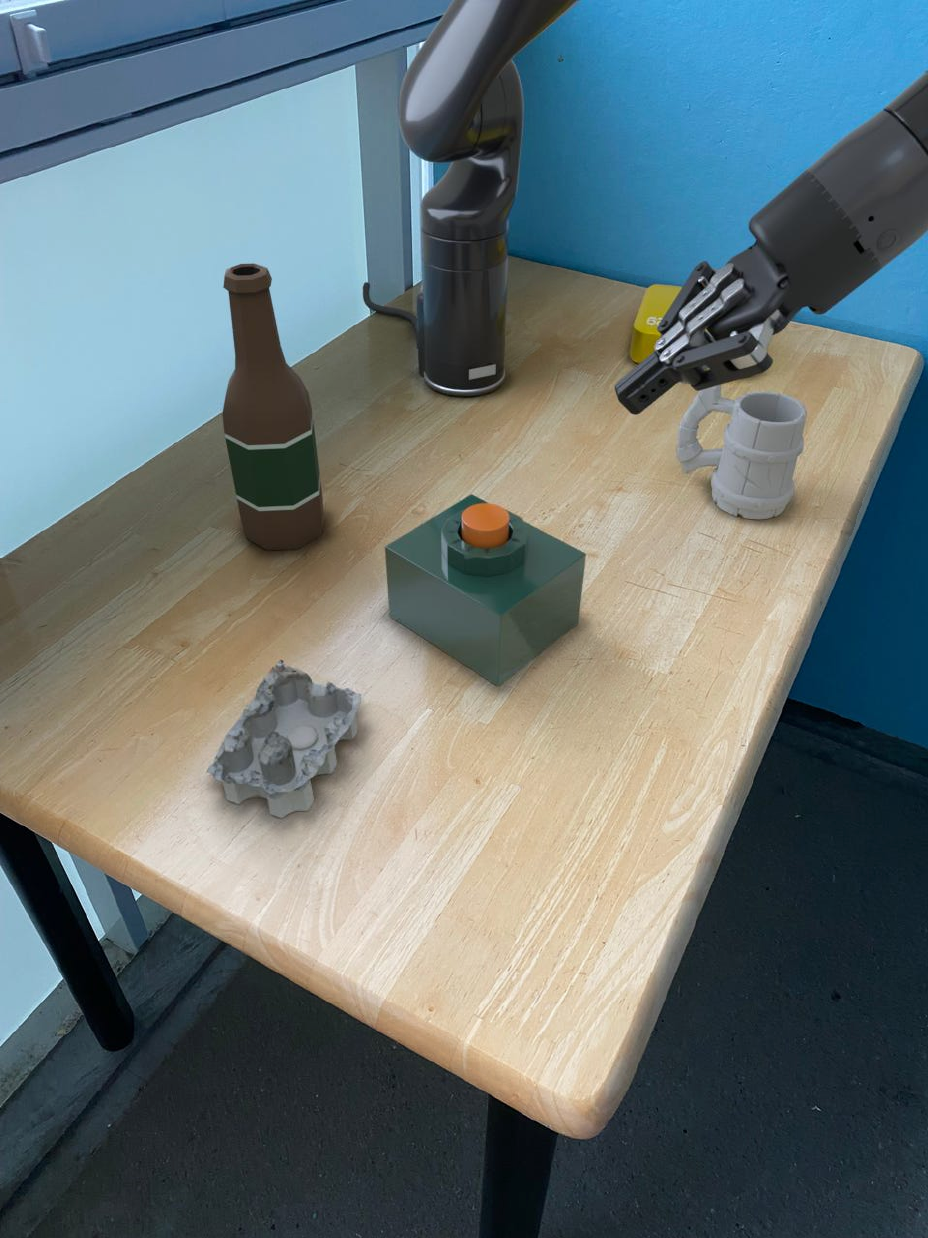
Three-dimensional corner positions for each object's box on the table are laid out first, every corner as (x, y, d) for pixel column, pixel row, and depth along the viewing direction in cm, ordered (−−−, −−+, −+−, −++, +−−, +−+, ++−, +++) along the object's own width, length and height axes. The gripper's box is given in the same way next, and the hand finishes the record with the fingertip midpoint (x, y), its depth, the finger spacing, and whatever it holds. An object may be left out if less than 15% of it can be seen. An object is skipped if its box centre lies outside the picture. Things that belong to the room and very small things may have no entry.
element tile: (761, 327, 119) (769, 290, 116) (755, 380, 108) (764, 341, 105) (643, 314, 122) (648, 277, 119) (626, 364, 111) (631, 325, 108)
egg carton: (287, 692, 71) (281, 652, 68) (375, 722, 68) (371, 682, 65) (202, 794, 63) (191, 754, 60) (297, 832, 61) (289, 793, 58)
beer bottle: (258, 562, 82) (209, 297, 66) (231, 517, 87) (181, 260, 72) (340, 538, 85) (312, 277, 69) (310, 496, 90) (278, 244, 74)
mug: (779, 530, 86) (811, 414, 78) (656, 497, 90) (675, 383, 82) (798, 489, 91) (830, 376, 83) (681, 459, 95) (701, 349, 87)
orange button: (451, 535, 71) (451, 517, 70) (483, 516, 73) (483, 497, 72) (487, 555, 69) (487, 536, 68) (518, 534, 71) (519, 515, 70)
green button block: (389, 616, 77) (383, 527, 71) (470, 561, 82) (471, 475, 76) (498, 687, 71) (501, 596, 65) (578, 623, 76) (588, 534, 70)
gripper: (782, 138, 59) (575, 324, 67) (856, 206, 49) (603, 416, 57) (842, 222, 63) (639, 390, 71) (921, 302, 53) (675, 487, 61)
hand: (623, 402), depth 64 cm, fingers closed
